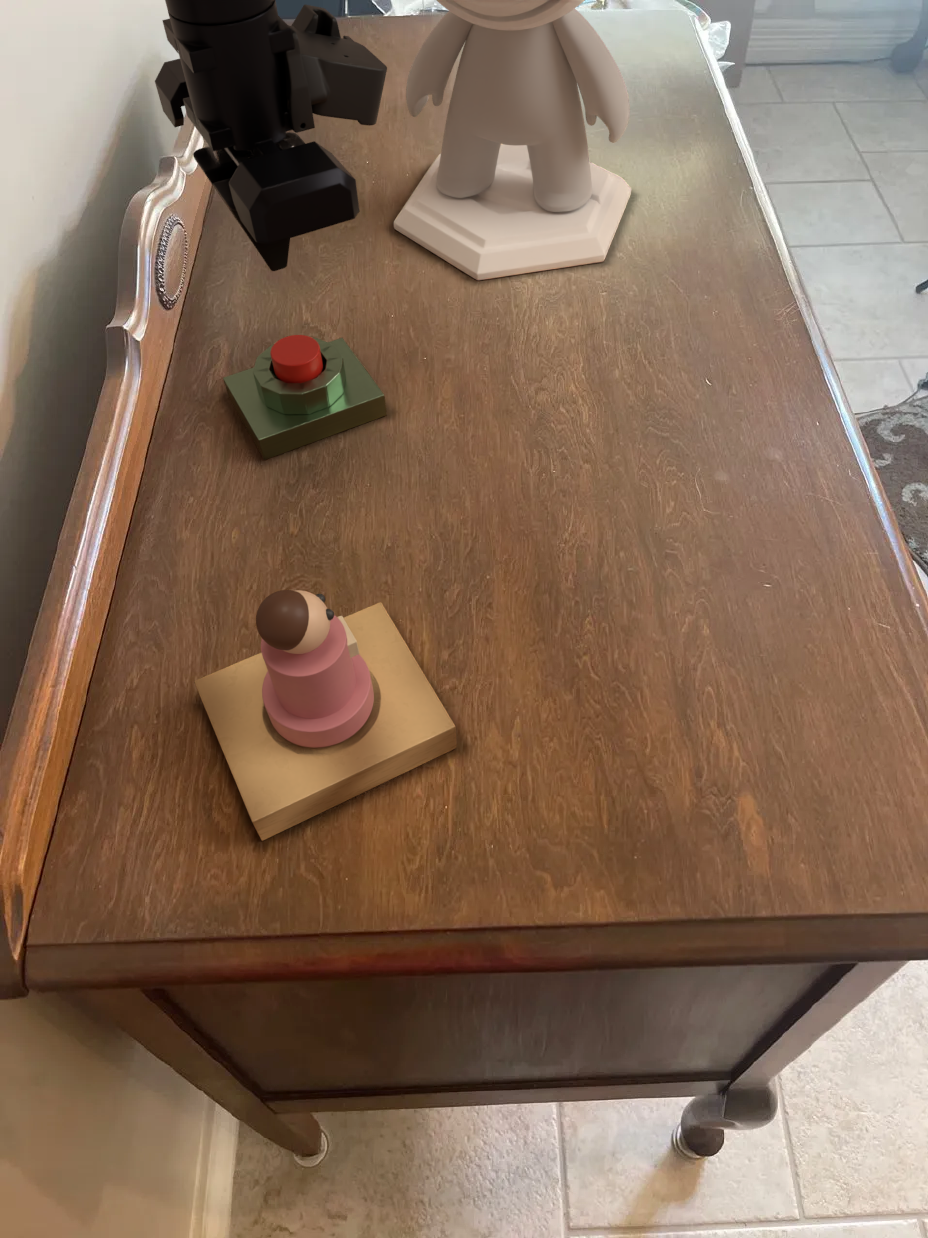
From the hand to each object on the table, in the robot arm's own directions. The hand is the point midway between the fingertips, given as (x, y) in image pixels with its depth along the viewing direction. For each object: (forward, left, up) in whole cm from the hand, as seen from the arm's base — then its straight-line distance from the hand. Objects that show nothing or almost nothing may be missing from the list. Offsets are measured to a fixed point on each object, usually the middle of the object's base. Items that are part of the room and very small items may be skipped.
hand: (277, 266), depth 62 cm
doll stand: (-10, -27, -12) cm, 31 cm away
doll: (-10, -27, -10) cm, 30 cm away
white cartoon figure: (+27, +16, -12) cm, 34 cm away
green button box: (0, 0, -12) cm, 12 cm away
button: (0, 0, -8) cm, 8 cm away
